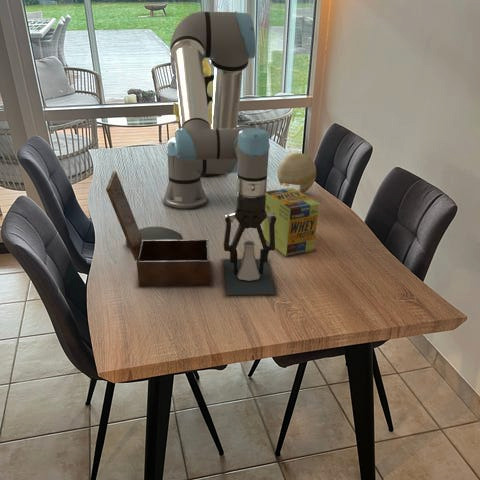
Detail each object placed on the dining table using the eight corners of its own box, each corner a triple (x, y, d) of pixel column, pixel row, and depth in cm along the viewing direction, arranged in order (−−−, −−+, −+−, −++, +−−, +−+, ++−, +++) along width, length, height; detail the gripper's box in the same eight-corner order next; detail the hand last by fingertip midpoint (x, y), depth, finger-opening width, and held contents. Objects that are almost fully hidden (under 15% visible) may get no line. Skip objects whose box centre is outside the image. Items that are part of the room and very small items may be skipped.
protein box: (286, 257, 154) (290, 208, 145) (261, 237, 165) (264, 191, 156) (314, 250, 158) (320, 203, 149) (288, 231, 169) (292, 186, 161)
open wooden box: (208, 263, 150) (208, 239, 145) (209, 285, 139) (209, 261, 134) (143, 263, 148) (140, 239, 144) (139, 286, 137) (136, 261, 133)
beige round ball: (321, 195, 198) (326, 157, 189) (288, 201, 192) (291, 161, 183) (301, 183, 209) (304, 146, 200) (269, 188, 203) (271, 150, 194)
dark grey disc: (158, 259, 150) (157, 250, 149) (121, 247, 156) (120, 238, 155) (187, 241, 161) (187, 233, 159) (151, 230, 167) (150, 222, 165)
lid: (115, 170, 132) (113, 171, 132) (108, 188, 121) (105, 189, 121) (142, 238, 144) (139, 238, 144) (137, 260, 133) (134, 260, 133)
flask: (234, 269, 146) (235, 237, 140) (259, 268, 146) (261, 237, 141) (236, 281, 140) (237, 249, 134) (262, 281, 140) (264, 248, 135)
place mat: (223, 260, 151) (223, 259, 151) (266, 260, 152) (266, 259, 152) (226, 296, 135) (226, 294, 134) (275, 295, 136) (275, 294, 135)
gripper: (213, 198, 126) (213, 279, 139) (291, 198, 127) (284, 278, 140) (212, 187, 132) (213, 266, 145) (287, 188, 133) (280, 265, 146)
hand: (248, 272), depth 142 cm, fingers closed on flask, 7 cm apart
